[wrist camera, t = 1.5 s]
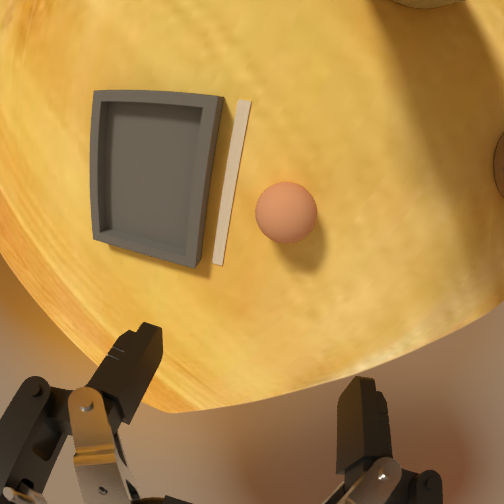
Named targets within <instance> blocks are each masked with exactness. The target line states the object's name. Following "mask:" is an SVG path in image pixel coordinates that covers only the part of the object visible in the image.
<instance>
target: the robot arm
mask: <svg viewBox="0 0 504 504" xmlns="http://www.w3.org/2000/svg"><path fill="white" fill-rule="evenodd" d="M494 176H495V180H496V184H497V187H498V190H499V192H500V193H501V195H502V196H503V197H504V134H503V136H502V137H501V139H500V141H499V143H498V146H497V148H496V152H495V157H494ZM162 355H163V339H162V328H161V327H158V326H155V325H152V324H149V323H146V322H143V323H142V324H141V326H140V327H139V329H138V330H137V332H133V331H131V330H128V331H127V332H125V333H124V334H122V335H121V336H119V338H118V339H117V340H116V342H115V343H114V345H113V347H112V348H111V349H110V351H109V352H108V355H107V356H106V357H105V358H104V360H103V361H102V363H101V364H100V366H99V367H98V369H97V370H96V372H95V373H94V375H93V377H92V378H91V380H90V381H89V382H88V384H87V385H85V386H84V387H81V388H77V389H76V390H65V389H60V388H55V387H50V386H49V384H48V382H47V381H46V380H45V379H43V378H42V377H38V376H32V377H29V378H27V379H26V380H25V381H24V382H23V383H22V385H21V386H20V388H19V390H18V391H17V393H16V394H15V396H14V397H13V399H12V401H11V402H10V404H9V406H8V407H7V409H6V411H5V413H4V415H3V416H2V418H1V420H0V504H47V502H46V500H45V498H44V497H43V495H42V492H43V490H44V488H45V485H46V483H47V480H48V478H49V475H50V473H51V471H52V468H53V466H54V464H55V461H56V459H57V457H58V455H59V453H60V450H61V448H62V446H63V444H64V442H65V440H66V438H67V436H68V435H72V436H73V440H74V445H75V450H76V453H75V455H74V457H73V460H74V466H75V471H76V474H77V478H78V482H79V485H80V489H81V493H82V496H83V499H84V502H85V504H192V503H189V502H185V501H182V500H179V499H176V498H173V497H170V496H167V495H166V496H165V498H159V497H158V498H157V497H151V498H141V495H140V492H139V490H138V487H137V485H136V482H135V480H134V478H133V475H132V473H131V471H130V469H129V466H128V463H127V460H126V457H125V454H124V450H123V447H122V444H121V440H120V437H119V433H118V428H119V426H120V424H121V422H124V423H126V424H128V425H129V424H130V422H131V420H132V418H133V416H134V414H135V412H136V410H137V408H138V406H139V404H140V402H141V400H142V398H143V396H144V394H145V392H146V390H147V388H148V386H149V384H150V382H151V380H152V378H153V376H154V374H155V372H156V370H157V368H158V366H159V364H160V362H161V359H162ZM387 414H388V409H387V402H386V400H385V398H384V396H383V394H382V392H379V391H376V387H375V381H374V379H373V378H368V377H361V376H355V377H354V379H353V380H352V381H351V383H350V384H349V385H348V386H347V388H346V389H345V390H344V392H343V393H342V394H341V396H340V398H339V401H338V406H337V461H336V474H345V480H344V481H343V482H342V483H341V484H340V485H339V486H338V487H337V488H336V490H334V492H332V493H331V495H330V496H329V497H328V498H327V499H326V500H325V501H324V502H323V503H322V504H443V497H442V496H443V494H442V480H441V477H440V475H439V474H438V473H437V472H436V471H434V470H427V471H424V472H422V473H421V474H418V473H414V472H411V471H407V470H404V469H402V468H401V467H400V464H399V463H398V462H397V461H396V460H394V459H393V456H392V447H391V436H390V426H389V417H388V415H387Z"/></svg>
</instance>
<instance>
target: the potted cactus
mask: <svg viewBox="0 0 504 504" xmlns="http://www.w3.org/2000/svg"><path fill="white" fill-rule="evenodd" d="M393 1H395V2H397V3H400V4H402V5H405V6H409V7H414V8H421V9H428V8H437V7H440V6H444V5H448V4H452V3H456V2H460V1H465V0H393Z"/></svg>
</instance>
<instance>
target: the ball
mask: <svg viewBox="0 0 504 504" xmlns="http://www.w3.org/2000/svg"><path fill="white" fill-rule="evenodd" d="M255 214H256V221H257V224H258V226H259V228H260V229H261V231H262V232H263V233H264V234H265V235H266V236H267V237H268V238H270V239H271V240H273V241H275V242H279V243H285V244H287V243H294V242H298V241H300V240H302V239H303V238H305V237H306V236H307V235H308V234H309V233H310V232H311V231H312V229H313V227H314V225H315V223H316V219H317V207H316V204H315V201H314V199H313V197H312V195H311V194H310V193H309V192H308V191H307V190H306V189H305V188H304V187H302V186H300V185H298V184H295V183H291V182H281V183H277V184H274V185H272V186H270V187H269V188H267V189H266V190H265V191H264V192H263V193H262V194H261V196H260V197H259V199H258V201H257V205H256V210H255Z"/></svg>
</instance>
